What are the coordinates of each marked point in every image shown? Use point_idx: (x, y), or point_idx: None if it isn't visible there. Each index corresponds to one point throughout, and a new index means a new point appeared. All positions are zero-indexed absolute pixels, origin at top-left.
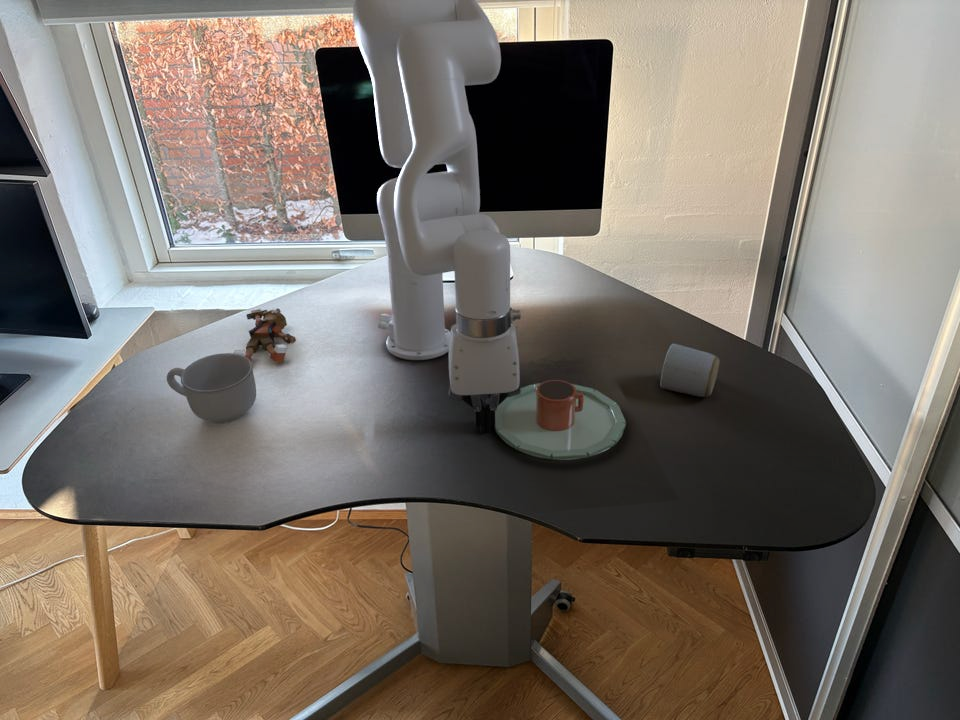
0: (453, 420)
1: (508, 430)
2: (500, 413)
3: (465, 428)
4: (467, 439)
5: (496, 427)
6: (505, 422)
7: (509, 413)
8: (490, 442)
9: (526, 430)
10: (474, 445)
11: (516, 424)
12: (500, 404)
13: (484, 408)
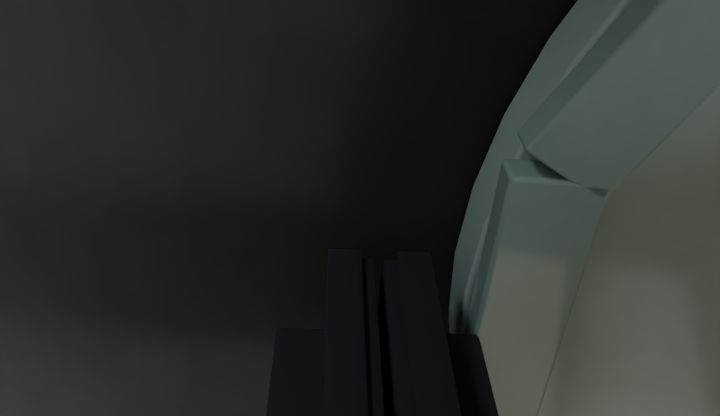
0: (69, 45)
1: (560, 395)
2: (577, 237)
3: (200, 194)
4: (214, 329)
5: None
6: (578, 303)
7: (681, 170)
8: None
9: (703, 412)
10: (265, 392)
11: (662, 339)
12: (650, 64)
13: (393, 402)
